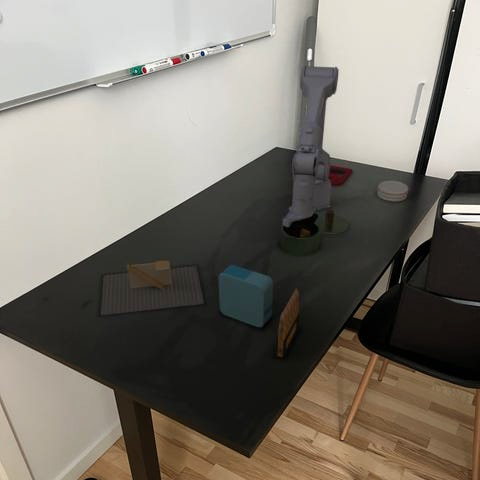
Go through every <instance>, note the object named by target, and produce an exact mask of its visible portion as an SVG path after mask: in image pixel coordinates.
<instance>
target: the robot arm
mask: <svg viewBox="0 0 480 480" xmlns="http://www.w3.org/2000/svg"><path fill="white" fill-rule="evenodd" d="M339 71H340V69H339V68H338V66H334V67H333V66H314V65H313V66H312V65H303V66H302V67H301V69H300V76H299V89H300V90H301V93H302V94H301V95H302V96H304V97H305V98H306V105H305V106H306V108H305V121H304V122H305V123H304V124H302V125H301V126H300V127H299V132H298V139H297V143H296V144H297V146H296V152H295V153H293V157H292V162H291V163H292V164H291V172H292V181H293V183H292V201H291V206H289V207H288V210H289V212H288V213H287V215H286V216H284V218H282V225H283V226H286V227H287V228H288V231H289V234H290V236H293V237H299V238H300V234H301V231H302V228H303V229H305V230H307V231H310V232H311V229H312V227H313V225H314V223H315V221H316V220H317V219H318V215H319V214H317V213H315V212H316V211H319V210H321V209H325V208H326V209H327V208H330V207H332V206H331V196H332V185H331V182H330V180H329V179H328V177H329V170H330V165H331V155H330V153H329V152H327V151H326V150H325V149H323V145H324V144H323V143H324V131H325V124H326V123H325V121H326V111H327V101H328V99H329V98H331V97H332V96H333V95H336V92H337V90H338V89H337V88H338V81H339V73H340V72H339ZM299 220H300V221H301V223H300V222H299Z"/></svg>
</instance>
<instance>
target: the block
mask: <svg viewBox="0 0 480 480" xmlns="http://www.w3.org/2000/svg"><path fill="white" fill-rule="evenodd" d="M306 237H310V231H307V230H305V229H303V228H302V231H301V234H300V238H306Z"/></svg>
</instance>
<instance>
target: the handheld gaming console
mask: <svg viewBox="0 0 480 480" xmlns="http://www.w3.org/2000/svg"><path fill="white" fill-rule="evenodd" d="M352 172H353V169H352V168H348V167H342V166H337V165H331V164H330V170H329V177H328V179H329V180H330V182H331V187H333V186H334V187H338V186H339V187H340V186H342V185H343V184H344V183H345V182H346V180H348V178H349V177H350V175H351V174H352Z"/></svg>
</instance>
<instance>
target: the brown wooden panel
mask: <svg viewBox="0 0 480 480" xmlns="http://www.w3.org/2000/svg"><path fill="white" fill-rule="evenodd" d="M299 299H300V296H299V289H298V288H297V287H296V288H295V290H294V292H292V295H291V297H290V299H289V300H288V302H287V304H286V306H285V307H284V309H283V311H282V312H281V314H280V318H279V325H278V333H277V337H276V343H275V344H276V345H275V357H277V358H280V359H285V357H286V355H287V353H288V351H289V349H290V347H291V345H292V343H293V341H294V340H295V337H296V335H297V333H298V331H299V324H300V312H299V311H300V303H299Z"/></svg>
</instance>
